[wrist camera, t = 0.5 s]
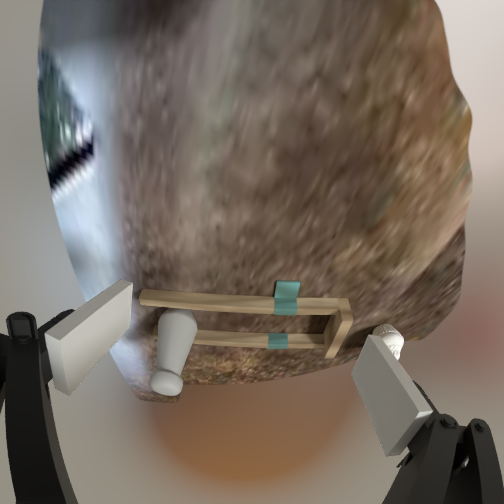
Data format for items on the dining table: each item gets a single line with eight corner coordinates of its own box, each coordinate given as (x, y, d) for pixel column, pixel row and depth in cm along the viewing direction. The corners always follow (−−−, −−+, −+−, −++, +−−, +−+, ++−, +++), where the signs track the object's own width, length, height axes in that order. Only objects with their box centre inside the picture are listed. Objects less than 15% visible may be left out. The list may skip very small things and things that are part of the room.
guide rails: (137, 272, 36) (128, 294, 33) (353, 283, 36) (360, 305, 33) (160, 339, 46) (155, 358, 43) (325, 347, 46) (328, 366, 43)
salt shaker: (181, 328, 43) (167, 402, 33) (154, 309, 41) (133, 385, 30) (207, 317, 41) (195, 397, 31) (179, 295, 38) (159, 379, 28)
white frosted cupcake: (386, 339, 45) (395, 372, 40) (358, 338, 45) (366, 373, 39) (404, 319, 42) (416, 353, 36) (376, 316, 41) (387, 353, 35)
